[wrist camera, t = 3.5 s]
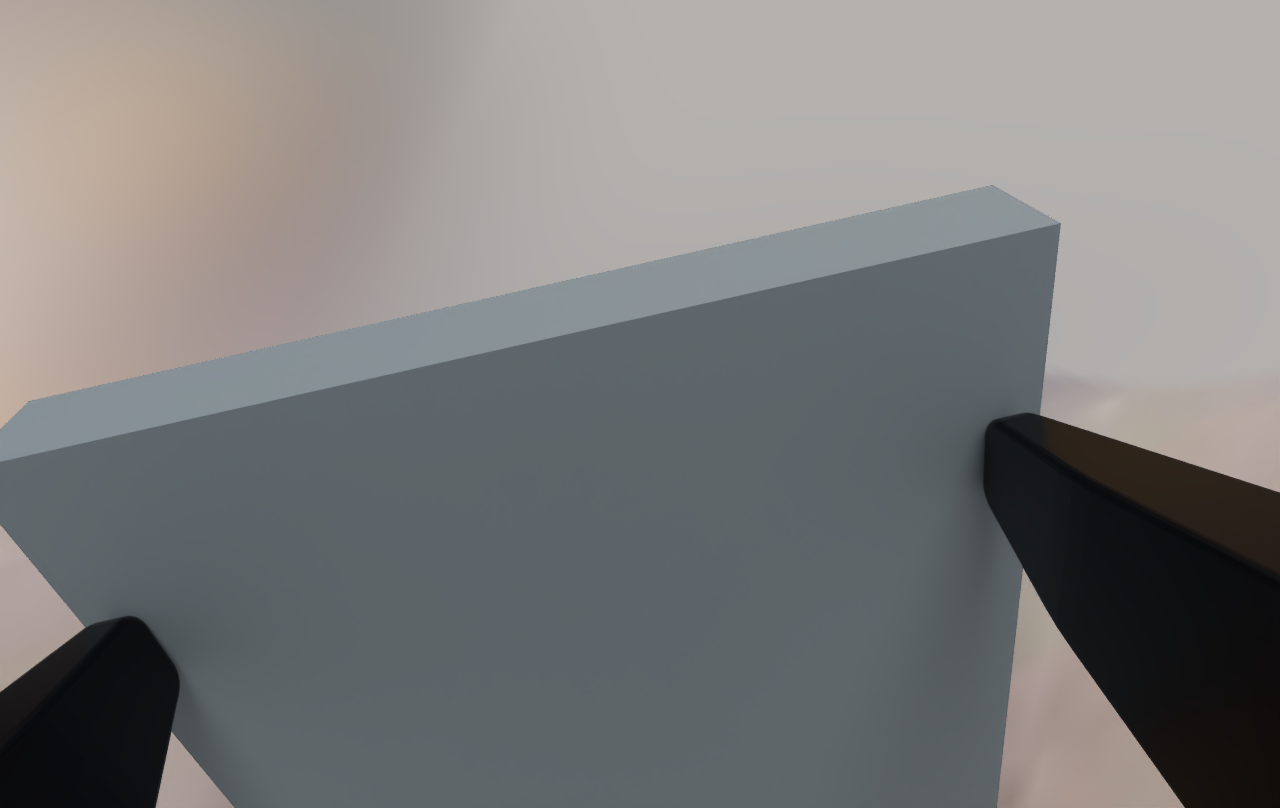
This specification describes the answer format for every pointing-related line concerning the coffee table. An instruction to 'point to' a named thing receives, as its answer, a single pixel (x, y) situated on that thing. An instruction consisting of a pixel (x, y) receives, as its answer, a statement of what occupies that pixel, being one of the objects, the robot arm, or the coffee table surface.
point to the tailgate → (584, 530)
